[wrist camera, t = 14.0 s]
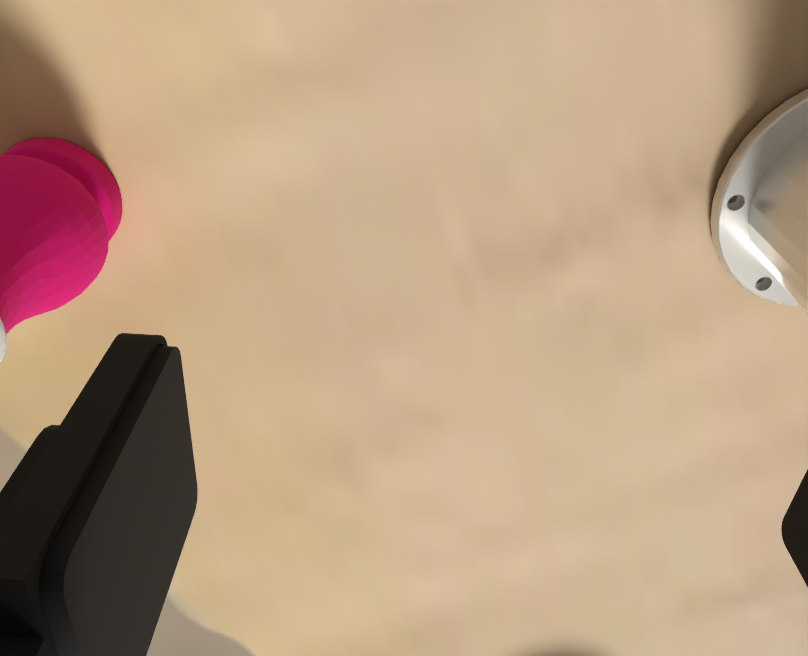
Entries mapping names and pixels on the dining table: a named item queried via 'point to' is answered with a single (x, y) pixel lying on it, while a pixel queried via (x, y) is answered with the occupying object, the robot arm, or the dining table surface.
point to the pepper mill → (51, 226)
